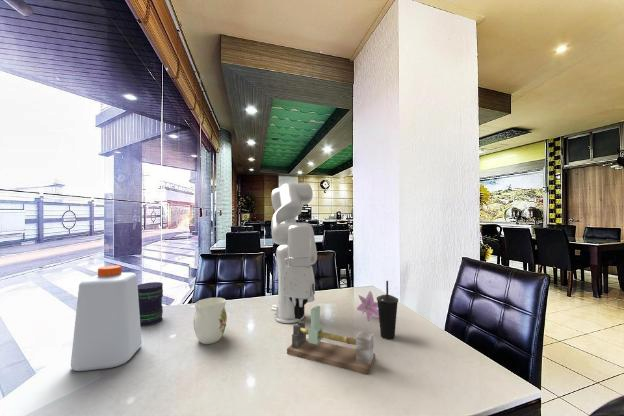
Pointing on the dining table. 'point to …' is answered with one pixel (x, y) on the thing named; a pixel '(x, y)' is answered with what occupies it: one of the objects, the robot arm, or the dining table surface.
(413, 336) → the dining table surface
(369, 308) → the lily
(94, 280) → the plastic bottle
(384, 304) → the drinking cup
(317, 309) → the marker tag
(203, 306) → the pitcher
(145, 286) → the storage jar
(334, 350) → the wooden rod slider stand
